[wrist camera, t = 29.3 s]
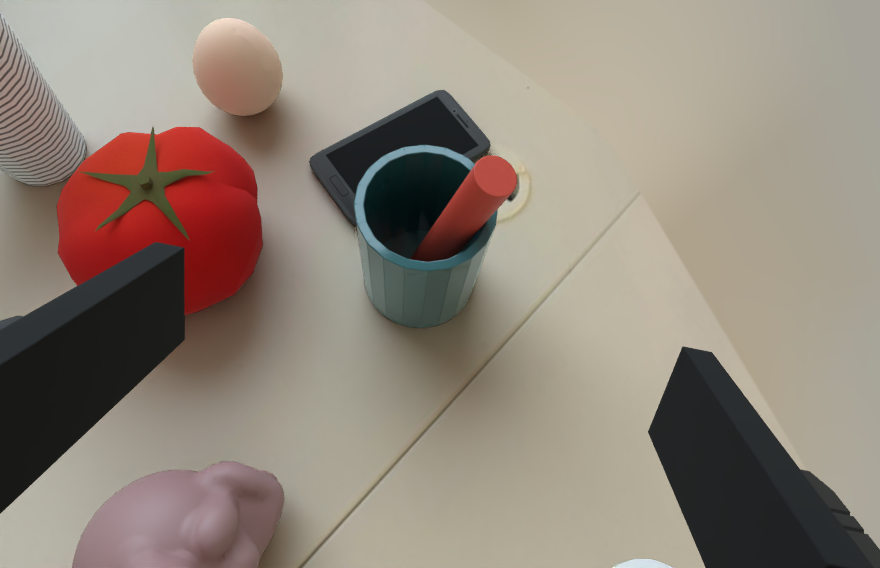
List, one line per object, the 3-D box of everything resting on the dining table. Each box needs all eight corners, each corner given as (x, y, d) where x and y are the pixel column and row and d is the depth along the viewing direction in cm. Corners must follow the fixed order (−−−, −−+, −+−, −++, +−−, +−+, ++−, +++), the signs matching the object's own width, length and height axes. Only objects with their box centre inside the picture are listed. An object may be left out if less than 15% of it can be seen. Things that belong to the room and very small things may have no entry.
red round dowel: (440, 267, 43) (523, 170, 29) (427, 293, 42) (507, 205, 28) (413, 251, 42) (484, 146, 29) (399, 277, 41) (466, 180, 28)
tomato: (226, 362, 39) (169, 315, 29) (70, 301, 40) (-35, 234, 30) (308, 209, 44) (283, 125, 34) (168, 157, 45) (104, 61, 35)
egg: (243, 59, 49) (217, -19, 42) (305, 93, 48) (289, 20, 41) (193, 109, 47) (155, 36, 40) (257, 146, 46) (230, 78, 39)
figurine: (324, 536, 36) (291, 550, 25) (164, 665, 33) (43, 749, 21) (251, 424, 38) (190, 391, 27) (94, 535, 35) (-49, 550, 24)
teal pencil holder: (490, 254, 44) (518, 178, 34) (445, 346, 41) (461, 294, 31) (395, 211, 45) (394, 124, 35) (344, 298, 42) (327, 232, 31)
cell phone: (306, 163, 46) (304, 158, 45) (443, 91, 49) (444, 85, 49) (354, 230, 44) (354, 225, 43) (493, 150, 47) (495, 144, 47)
